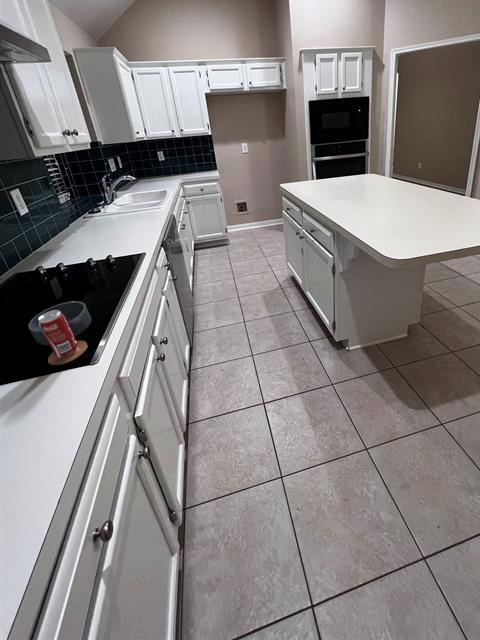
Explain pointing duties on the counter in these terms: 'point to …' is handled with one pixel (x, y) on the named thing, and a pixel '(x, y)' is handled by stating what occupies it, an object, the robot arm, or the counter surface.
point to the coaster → (59, 361)
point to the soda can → (58, 333)
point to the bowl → (73, 314)
